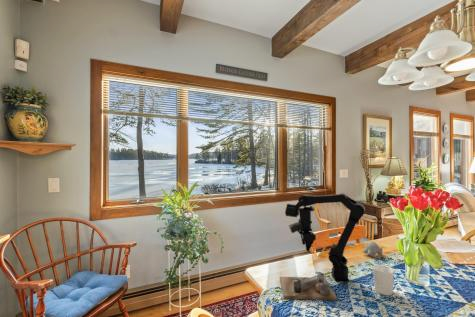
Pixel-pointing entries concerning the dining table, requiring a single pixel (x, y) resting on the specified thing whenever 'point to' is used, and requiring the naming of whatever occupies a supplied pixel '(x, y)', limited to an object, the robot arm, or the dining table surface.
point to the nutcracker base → (307, 290)
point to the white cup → (383, 279)
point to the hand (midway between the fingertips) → (305, 247)
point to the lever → (308, 282)
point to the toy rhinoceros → (372, 249)
